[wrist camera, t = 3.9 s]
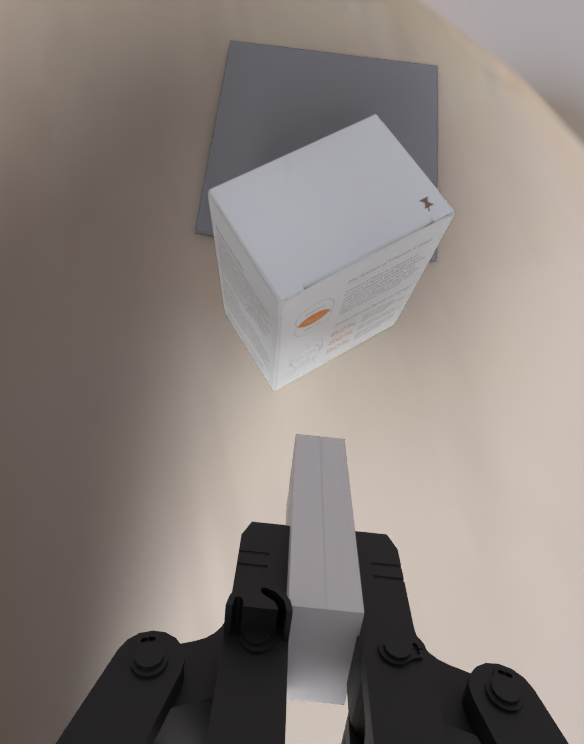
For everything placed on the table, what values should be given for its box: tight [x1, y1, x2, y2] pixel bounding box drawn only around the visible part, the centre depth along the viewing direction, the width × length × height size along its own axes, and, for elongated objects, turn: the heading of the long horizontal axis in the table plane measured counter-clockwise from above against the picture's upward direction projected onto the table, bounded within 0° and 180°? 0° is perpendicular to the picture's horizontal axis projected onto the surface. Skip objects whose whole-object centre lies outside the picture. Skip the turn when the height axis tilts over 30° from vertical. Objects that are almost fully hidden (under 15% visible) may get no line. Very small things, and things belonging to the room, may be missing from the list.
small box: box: [208, 114, 455, 391], centre depth 25 cm, size 8×6×10 cm
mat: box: [195, 41, 438, 261], centre depth 34 cm, size 14×15×1 cm
